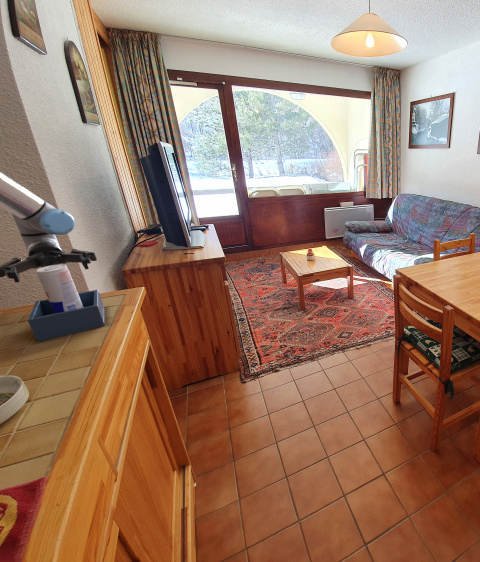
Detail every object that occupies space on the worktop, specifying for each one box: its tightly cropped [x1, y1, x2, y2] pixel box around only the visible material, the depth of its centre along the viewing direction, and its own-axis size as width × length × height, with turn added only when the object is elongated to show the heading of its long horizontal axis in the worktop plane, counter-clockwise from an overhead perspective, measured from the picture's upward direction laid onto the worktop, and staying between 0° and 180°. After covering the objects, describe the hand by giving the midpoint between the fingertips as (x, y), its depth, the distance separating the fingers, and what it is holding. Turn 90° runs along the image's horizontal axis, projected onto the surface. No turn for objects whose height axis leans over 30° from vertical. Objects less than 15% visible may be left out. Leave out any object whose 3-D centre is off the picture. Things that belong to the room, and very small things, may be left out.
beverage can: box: [35, 264, 84, 314], centre depth 80 cm, size 6×6×15 cm
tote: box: [27, 289, 106, 343], centre depth 82 cm, size 13×13×6 cm
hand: (52, 270), depth 83 cm, fingers open, 13 cm apart
